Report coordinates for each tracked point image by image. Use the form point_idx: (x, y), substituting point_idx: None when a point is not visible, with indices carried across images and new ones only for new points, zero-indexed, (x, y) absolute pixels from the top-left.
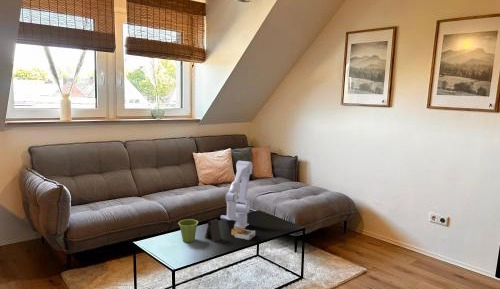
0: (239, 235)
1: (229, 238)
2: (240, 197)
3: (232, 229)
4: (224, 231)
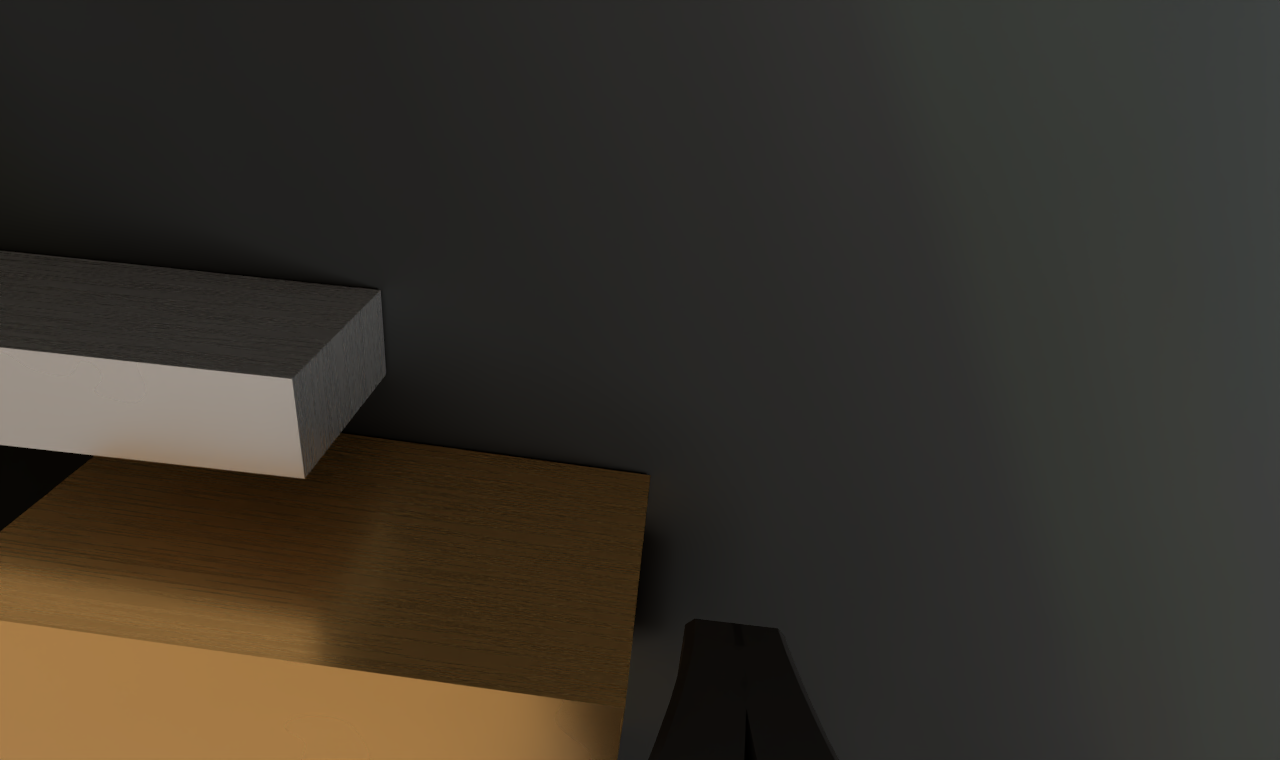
0: (25, 313)
1: (539, 27)
2: None
3: (546, 672)
4: (1063, 689)
